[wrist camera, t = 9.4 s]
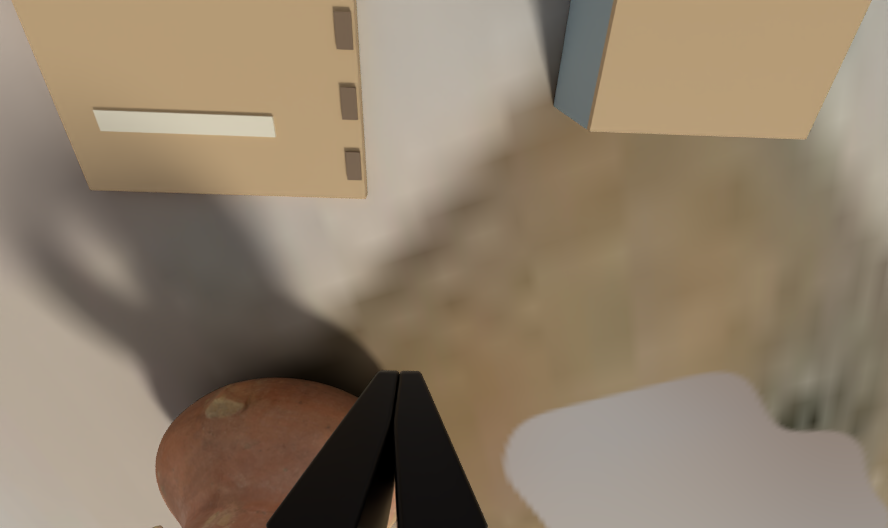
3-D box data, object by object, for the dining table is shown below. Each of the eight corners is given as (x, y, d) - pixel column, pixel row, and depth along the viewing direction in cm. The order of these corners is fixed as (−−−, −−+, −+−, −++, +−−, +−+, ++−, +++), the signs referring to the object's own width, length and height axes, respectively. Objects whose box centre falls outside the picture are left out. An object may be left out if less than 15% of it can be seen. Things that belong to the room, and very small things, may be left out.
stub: (768, -28, 15) (893, -48, 11) (718, 112, 17) (806, 139, 13) (576, -37, 15) (630, -61, 11) (553, 106, 17) (589, 131, 13)
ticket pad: (343, -218, 12) (338, -232, 12) (367, 194, 19) (364, 200, 18) (-72, -243, 12) (-101, -259, 11) (99, 185, 18) (87, 191, 18)
